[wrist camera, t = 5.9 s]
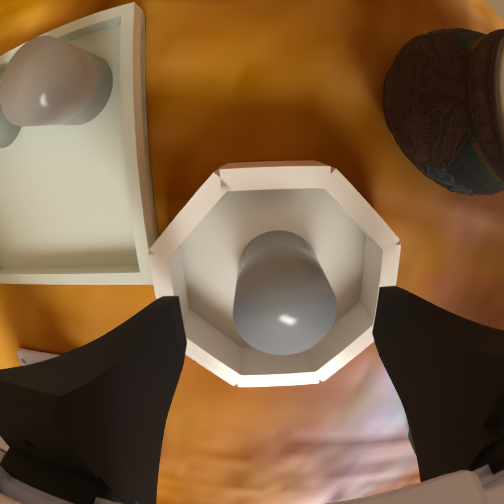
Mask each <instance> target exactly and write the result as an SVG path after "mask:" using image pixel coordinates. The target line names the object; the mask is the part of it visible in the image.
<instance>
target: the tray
mask: <svg viewBox="0 0 504 504" xmlns="http://www.w3.org/2000/svg"><path fill="white" fill-rule="evenodd" d="M145 22H146V13H145V12H144V11H143V10H142V9H141V8H140V7H139V6H138V5H137V4H136V3H135V2H132V3H128V4H124V5H121V6H117V7H114V8H111V9H107V10H104V11H101V12H98V13H95V14H92V15H89V16H86V17H83V18H81V19H78V20H75V21H73V22H70V23H68V24H65V25H63V26H60V27H58V28H56V29H53V30H51V31H49V32H46V33H44V34H42V35H40V36H45V35H46V36H51V37H54V38H57V39H59V40H62V41H65V42H67V43H69V44H72V45H74V46H77V47H79V48H81V49H84V50H86V51H88V52H91V53H93V54H95V55H98V56H100V57H101V58H103V59H104V60H105V61H106V62H107V63H108V64H109V66H110V68H111V71H112V75H113V86H112V92H111V95H110V98H109V100H108V102H107V104H106V106H105V107H104V109H103V110H102V111H101V112H100V113H99V114H98V115H97V116H96V117H95V118H94V119H92V120H91V121H89V122H87V123H85V124H82V125H50V126H23V127H21V130H20V132H19V134H18V136H17V138H16V139H15V140H14V142H13V143H12V144H11V145H9V146H8V147H6V148H1V149H0V284H50V285H143V284H153V280H152V274H151V269H150V263H149V257H148V254H149V253H150V252H151V251H150V250H149V249H150V248H151V247H152V246H153V244H154V243H155V242H156V241H157V239H158V238H159V237H158V230H157V222H156V214H155V206H154V197H153V188H152V178H151V168H150V156H149V143H148V128H147V110H146V83H145ZM27 42H28V41H27ZM25 43H26V42H25ZM25 43H23V44H22V45H20V46H18V47H16V48H14V49H12V50H10V51H8V52H7V53H5V54H3V55H1V56H0V85H1V81H2V77H3V74H4V72H5V69H6V67H7V65H8V63H9V61H10V60H11V58H12V57H13V55H14V54H15V53H16V52H17V50H18V49H19V48H20V47H21V46H23V45H24V44H25Z"/></svg>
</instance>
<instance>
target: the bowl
mask: <svg viewBox="0 0 504 504" xmlns="http://www.w3.org/2000/svg"><path fill="white" fill-rule="evenodd" d="M275 230H282V231H288V232H292V233H295V234H297V235H299V236H301V237H302V238H303V239H305V240H306V241H307V242H308V243H309V245H310V246H311V247H312V249H313V251H314V253H315V255H316V257H317V259H318V261H319V263H320V265H321V267H322V269H323V271H324V273H325V275H326V277H327V279H328V281H329V283H330V286H331V288H332V290H333V292H334V295H335V297H336V302H337V314H336V318H335V321H334V324H333V326H332V328H331V330H330V331H329V333H328V334H327V335H326V336H325V337H324V338H323V339H322V340H321V341H320V342H319V343H318V344H316V345H315V346H313V347H312V348H310V349H307V350H305V351H303V352H300V353H296V354H291V355H273V354H268V353H264V352H262V351H259V350H257V349H255V348H253V347H252V346H250V345H249V344H248V343H246V342H245V341H244V340H243V339H242V337H241V336H240V335H239V333H238V331H237V330H236V327H235V325H234V320H233V305H234V297H235V289H236V281H237V273H238V265H239V260H240V256H241V254H242V252H243V250H244V248H245V247H246V246H247V244H248V243H249V242H250V241H251V240H253V239H254V238H255V237H257V236H259V235H261V234H263V233H266V232H269V231H275ZM399 240H400V239H399V238H398V237H397V236H396V235H395V233H394V232H393V231H392V230H391V229H390V227H389V226H388V225H387V224H386V223H385V222H384V220H383V219H382V218H381V217H380V216H379V215H378V213H377V212H376V211H375V210H374V209H373V208H372V207H371V205H370V204H369V203H368V202H367V201H366V200H365V199H364V198H363V197H362V195H361V194H360V193H359V192H358V191H357V190H356V189H355V188H354V187H353V186H352V185H351V184H350V182H349V181H348V180H347V179H346V178H345V177H344V176H343V175H342V174H341V173H340V172H339V171H338V170H337V169H336V168H334V167H331V166H329V165H326V164H324V163H321V162H318V161H315V160H298V161H260V162H238V163H227V164H225V165H224V166H223V165H222V166H221V167H220V168H218V169H217V170H216V171H214V172H213V173H212V175H211V176H210V177H209V178H208V179H207V180H206V181H205V183H204V184H203V185H202V186H201V187H200V188H199V190H198V191H197V192H196V193H195V194H194V195H193V197H192V198H191V199H190V200H189V201H188V203H187V204H186V205H185V206H184V207H183V209H182V210H181V211H180V212H179V213H178V215H177V216H176V217H175V218H174V219H173V221H172V222H171V223H170V224H169V226H168V227H167V228H166V229H165V231H164V232H163V233H162V234H161V236H160V237H159V238H158V239H157V241H156V242H155V243H154V244H153V246H152V247H151V248H150V249H149V250H150V251H151V252H150V253H149V254H148V257H149V263H150V269H151V274H152V280H153V285H154V290H155V296H156V300H157V299H158V298H160V297H162V296H179V300H180V306H181V312H182V318H183V323H184V329H185V334H186V339H187V347H186V353H185V354H186V355H187V356H189V357H190V358H192V359H193V360H195V361H196V362H197V363H199V364H200V365H202V366H203V367H205V368H206V369H208V370H209V371H211V372H212V373H214V374H216V375H217V376H219V377H220V378H222V379H223V380H225V381H226V382H228V383H230V384H231V385H233V386H234V385H236V384H237V383H238V387H267V386H287V385H302V384H315V383H319V379H320V380H321V381H324V380H326V379H327V378H328V377H330V376H331V375H332V374H334V373H335V372H336V371H338V370H339V369H340V368H342V367H343V366H344V365H345V364H347V363H348V362H349V361H350V360H352V359H353V358H354V357H355V356H357V355H358V354H359V353H360V352H362V351H363V350H364V349H365V348H366V347H368V346H369V345H370V344H371V343H372V342H374V338H373V335H372V331H373V325H374V320H375V314H376V307H377V301H378V294H379V287H385V286H396V281H397V274H398V266H399V259H400V250H401V244H400V243H398V241H399Z"/></svg>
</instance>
